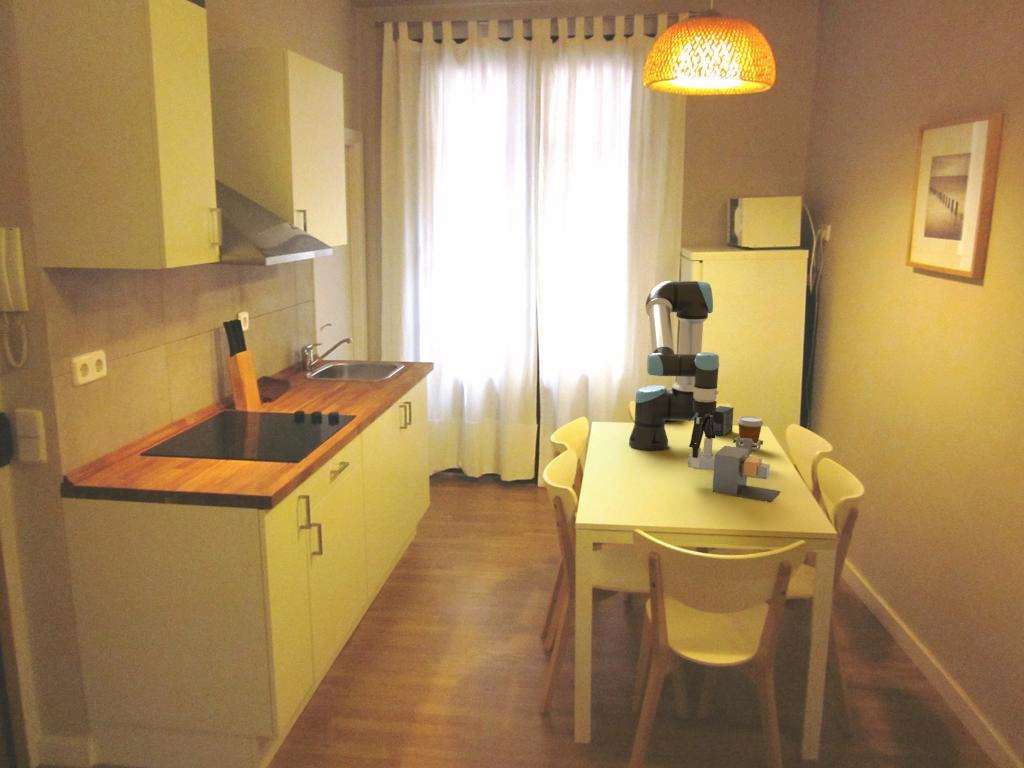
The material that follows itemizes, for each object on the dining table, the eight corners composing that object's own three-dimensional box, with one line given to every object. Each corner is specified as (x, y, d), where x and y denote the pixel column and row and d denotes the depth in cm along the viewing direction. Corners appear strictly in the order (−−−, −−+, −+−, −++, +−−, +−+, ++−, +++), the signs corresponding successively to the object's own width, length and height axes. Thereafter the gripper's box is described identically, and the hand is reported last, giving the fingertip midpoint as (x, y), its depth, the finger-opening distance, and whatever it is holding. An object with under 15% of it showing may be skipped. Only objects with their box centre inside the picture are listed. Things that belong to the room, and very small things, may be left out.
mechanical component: (761, 467, 305) (763, 440, 303) (731, 465, 307) (733, 439, 305) (760, 465, 308) (762, 438, 306) (731, 463, 310) (733, 437, 308)
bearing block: (712, 492, 278) (714, 454, 275) (722, 482, 288) (724, 445, 285) (736, 496, 274) (739, 457, 271) (746, 486, 284) (748, 449, 281)
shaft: (687, 466, 285) (688, 455, 284) (691, 464, 288) (691, 452, 287) (766, 479, 272) (767, 467, 271) (769, 476, 276) (769, 464, 275)
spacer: (743, 474, 274) (744, 461, 273) (748, 468, 280) (749, 455, 279) (755, 476, 272) (756, 463, 271) (760, 470, 278) (761, 457, 277)
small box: (718, 429, 359) (719, 405, 357) (732, 431, 355) (734, 407, 353) (708, 434, 350) (709, 409, 348) (723, 437, 346) (724, 412, 344)
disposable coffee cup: (734, 450, 327) (736, 420, 324) (737, 444, 336) (739, 414, 333) (759, 453, 323) (761, 422, 321) (762, 447, 332) (764, 417, 330)
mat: (733, 496, 274) (733, 494, 274) (743, 485, 285) (743, 484, 284) (771, 502, 269) (771, 501, 268) (779, 492, 279) (779, 490, 279)
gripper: (705, 407, 267) (701, 472, 271) (726, 394, 289) (722, 454, 293) (681, 405, 271) (678, 469, 275) (704, 392, 292) (701, 451, 296)
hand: (701, 462), depth 284 cm, fingers open, 13 cm apart
